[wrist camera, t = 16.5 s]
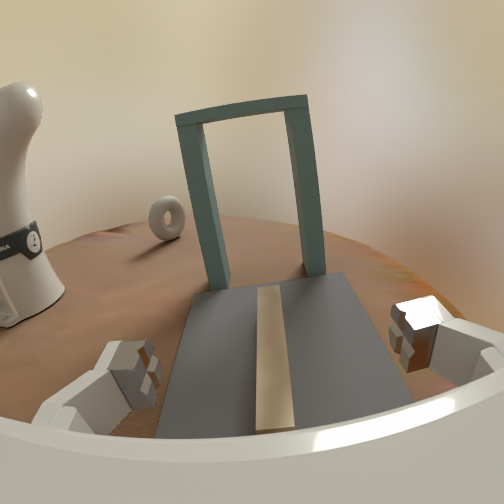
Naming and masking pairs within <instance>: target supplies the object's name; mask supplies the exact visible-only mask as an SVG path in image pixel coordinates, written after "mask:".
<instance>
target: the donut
mask: <svg viewBox="0 0 504 504" xmlns="http://www.w3.org/2000/svg"><path fill="white" fill-rule="evenodd" d="M166 211H169V212H170V214H171V222H170V224H169V225H168V226H167V225H166V224H165V222H164V215H165V213H166ZM185 220H186V216H185V210H184V207H183V205H182V203H181V202H180V201H179V200H178V199H177V198H175V197H172V196H163V197H161V198H159V199H157V200H156V201H155V203H154V204H153V205H152V207H151V209H150V212H149V225H150V228H151V231H152V232H153V233H154V235H155V236H156V237H157V238H159V239H161V240H165V241H169V240H173V239H175V238H176V237H177V236H179V235H180V233H181V232H182V230H183V228H184V225H185Z"/></svg>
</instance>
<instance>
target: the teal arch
mask: <svg viewBox="0 0 504 504" xmlns="http://www.w3.org/2000/svg"><path fill="white" fill-rule="evenodd" d="M281 111H284V116H285V122H286V128H287V135H288V143H289V150H290V156H291V164H292V172H293V179H294V187H295V195H296V203H297V212H298V221H299V230H300V239H301V248H302V258H303V264H304V266H305V269H306V271H307V274H308V277H314V276H320V275H326V266H325V251H324V238H323V227H322V215H321V204H320V194H319V185H318V176H317V167H316V160H315V151H314V143H313V135H312V129H311V121H310V114H309V108H308V99H307V95H295V96H286V97H277V98H269V99H262V100H254V101H247V102H241V103H234V104H229V105H222V106H217V107H211V108H206V109H201V110H196V111H191V112H187V113H182V114H178V115H175V122H176V127H177V131H178V136H179V142H180V148H181V153H182V158H183V163H184V169H185V174H186V179H187V184H188V189H189V194H190V199H191V203H192V208H193V214H194V218H195V223H196V228H197V232H198V237H199V241H200V246H201V250H202V255H203V259H204V264H205V268H206V272H207V277H208V281H209V285H210V289H211V291H216V290H224V289H228V288H229V279H230V269H229V264H228V259H227V254H226V249H225V243H224V238H223V233H222V228H221V223H220V218H219V212H218V208H217V202H216V197H215V192H214V186H213V181H212V175H211V169H210V164H209V158H208V153H207V147H206V142H205V135H204V130H203V124H204V123H210V122H215V121H221V120H226V119H232V118H238V117H245V116H251V115H258V114H266V113H273V112H281Z"/></svg>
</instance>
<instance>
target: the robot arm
mask: <svg viewBox="0 0 504 504" xmlns="http://www.w3.org/2000/svg"><path fill="white" fill-rule="evenodd" d="M41 118H42V102H41V98H40V96H39V93H38V92H37V90H36V89H35V88H34V87H32V85H30V84H29V83H26V82H18V83H14V84H11V85H8V86H5V87H2V88H0V326H2V327H11V326H13V325H15V324H16V323H18V322H19V321H21V320H23V319H25V318H27V317H30V316H32V315H34V314H36V313H38V312H40V311H42V310H44V309H45V308H47V307H48V306H50V305H51V304H53V303H54V302H55V301H56V300H57V299H58V298H59V297H60V296H61V295H62V294H63V292H64V290H65V287H64V285H63V284H62V283H61V281H60V280H59V279H58V277H57V275H56V274H55V272H54V270H53V268H52V266H51V264H50V262H49V260H48V258H47V256H46V254H45V252H44V250H43V248H42V243H41V236H40V233H39V229H38V227H37V224H36V221H34V220H33V217H32V214H31V210H30V206H29V201H28V197H27V192H26V187H25V177H24V173H25V160H26V154H27V150H28V146H29V143H30V141H31V139H32V136H33V134H34V133H35V131H36V130H37V128H38V126H39V124H40V122H41ZM391 317H392V318H393V320H394V321H393V322H392V324H391V325H390V328H389V338H390V343H391V346H392V348H393V350H394V352H395V353H398V354H400V359H399V361H400V363H401V364H402V366H403V368H404V369H405V371H406V373H409V372H413V371H417V370H421V369H424V368H428V367H429V369H430V370H432V371H434V372H435V373H437V374H438V375H440V376H442V377H443V378H445V379H446V380H448V381H450V382H451V383H453V384H455V385H456V386H458V388H455V389H453V390H450V391H447V392H444V393H442V394H439V395H436V396H433V397H430V398H427V399H424V400H421V401H418V402H415V403H412V404H409V405H406V406H402V407H399V408H395V409H392V410H388V411H385V412H381V413H377V414H373V415H369V416H365V417H361V418H357V419H353V420H348V421H343V422H339V423H334V424H329V425H323V426H318V427H312V428H306V429H300V430H293V431H286V432H279V433H271V434H262V435H252V436H240V437H226V438H206V439H149V438H130V437H117V436H108V435H109V434H110V432H111V431H112V430H113V429H114V428H115V427H116V426H117V425H118V424H119V423H120V422H121V421H122V420H123V419H124V418H125V417H126V416H127V415H128V413H129V412H130V411H131V410H132V409H150V408H154V407H155V403H156V400H157V396H158V393H157V391H156V389H157V388H158V387H159V386H160V385H161V381H162V369H161V365H160V362H159V360H158V359H157V358H156V357H155V356H154V355H152V354H153V352H154V348H153V345H152V343H151V341H149V340H129V341H111V342H108V344H107V345H106V347H105V349H104V351H103V353H102V355H101V356H100V358H99V360H98V362H97V364H96V366H95V368H94V370H89V371H88V372H86V373H85V374H83V375H82V376H80V377H79V378H78V379H76V380H75V381H73V382H72V383H70V384H69V385H67V386H66V387H65V388H63V389H62V390H60V391H59V392H57V393H56V394H54V395H53V396H51V397H50V398H49V399H47V400H46V401H44V402H43V403H42V405H41V407H40V408H39V410H38V412H37V414H36V416H35V417H34V419H33V421H32V423H31V424H29V423H25V422H20V421H16V420H12V419H8V418H4V417H0V504H504V334H503V333H500V332H497V331H494V330H491V329H488V328H486V327H483V326H480V325H477V324H474V323H471V322H469V321H466V320H463V319H460V318H456V319H455V318H454V317H453V316H452V315H451V314H450V313H449V312H448V311H447V310H446V309H445V308H444V307H443V305H442V304H441V303H440V302H439V301H438V300H437V299H436V298H435V297H434V296H432V295H429V296H426V297H422V298H419V299H416V300H412V301H408V302H403V303H399V304H395V305H393V306H392V309H391Z"/></svg>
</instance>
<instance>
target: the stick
mask: <svg viewBox="0 0 504 504" xmlns="http://www.w3.org/2000/svg"><path fill="white" fill-rule="evenodd" d="M293 430H295V421H294V411H293V401H292V391H291V382H290V372H289V363H288V354H287V345H286V336H285V327H284V319H283V310H282V302H281V295H280V287H279V285H274V286H267V287H259V288H257V377H256V433H257V435H262V434H271V433H279V432H286V431H293Z"/></svg>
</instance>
